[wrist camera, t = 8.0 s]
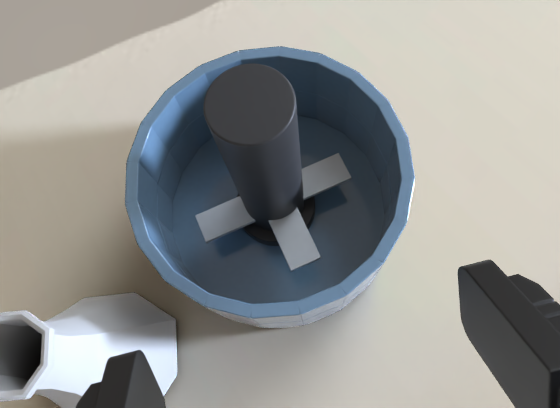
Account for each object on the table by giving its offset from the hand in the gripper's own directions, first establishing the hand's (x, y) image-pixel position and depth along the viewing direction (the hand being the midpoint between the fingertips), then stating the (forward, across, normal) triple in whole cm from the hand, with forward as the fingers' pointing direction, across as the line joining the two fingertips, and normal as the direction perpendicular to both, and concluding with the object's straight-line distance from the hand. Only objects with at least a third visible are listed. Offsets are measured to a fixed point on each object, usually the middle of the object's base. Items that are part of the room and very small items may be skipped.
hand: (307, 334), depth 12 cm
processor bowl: (+16, 0, -5) cm, 17 cm away
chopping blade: (+16, 0, -4) cm, 16 cm away
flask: (+12, -10, -9) cm, 18 cm away
